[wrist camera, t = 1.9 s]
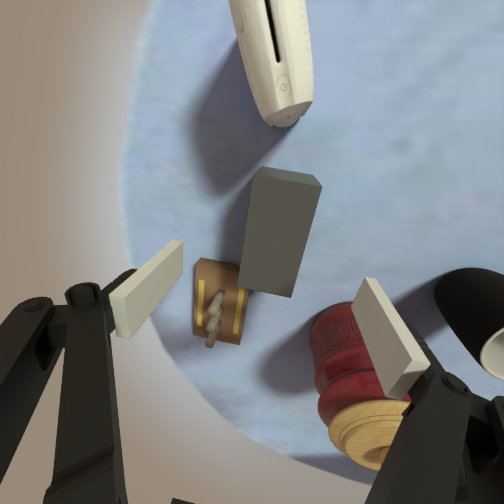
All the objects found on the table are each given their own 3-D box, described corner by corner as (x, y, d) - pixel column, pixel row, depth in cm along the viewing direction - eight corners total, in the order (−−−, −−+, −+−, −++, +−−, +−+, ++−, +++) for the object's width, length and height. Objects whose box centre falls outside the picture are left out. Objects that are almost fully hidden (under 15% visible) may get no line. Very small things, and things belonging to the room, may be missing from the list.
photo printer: (308, 121, 24) (325, 101, 13) (269, 134, 25) (254, 126, 14) (287, -6, 20) (287, -192, 9) (242, 15, 21) (192, -127, 10)
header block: (241, 336, 39) (233, 369, 33) (197, 326, 39) (182, 357, 34) (253, 268, 33) (245, 294, 27) (200, 257, 33) (182, 281, 27)
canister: (407, 302, 32) (526, 459, 16) (385, 364, 37) (457, 526, 21) (312, 295, 33) (335, 431, 18) (305, 356, 39) (318, 500, 23)
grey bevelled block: (290, 263, 31) (290, 297, 24) (248, 254, 32) (237, 286, 25) (312, 174, 26) (322, 186, 19) (262, 166, 26) (253, 174, 19)
